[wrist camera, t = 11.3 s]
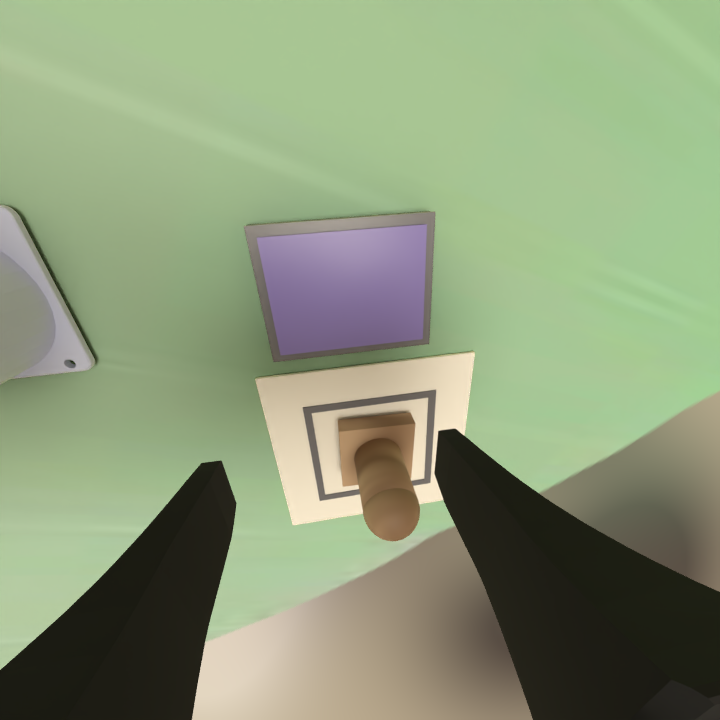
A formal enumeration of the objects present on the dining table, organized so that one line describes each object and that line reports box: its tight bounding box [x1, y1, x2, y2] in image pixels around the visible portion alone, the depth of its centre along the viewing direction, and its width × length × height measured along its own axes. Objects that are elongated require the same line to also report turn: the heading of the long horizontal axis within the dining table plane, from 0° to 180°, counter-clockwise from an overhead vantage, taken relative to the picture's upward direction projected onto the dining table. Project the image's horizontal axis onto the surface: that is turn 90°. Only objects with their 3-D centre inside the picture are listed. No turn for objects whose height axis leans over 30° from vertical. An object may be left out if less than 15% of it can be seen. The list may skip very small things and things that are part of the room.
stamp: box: [338, 413, 420, 541], centre depth 19 cm, size 5×5×7 cm
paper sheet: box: [255, 351, 475, 525], centre depth 22 cm, size 14×14×1 cm
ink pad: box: [244, 211, 435, 362], centre depth 16 cm, size 9×7×2 cm
